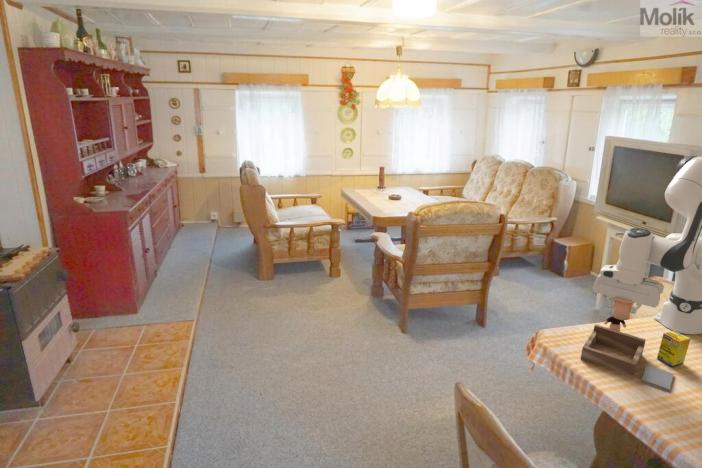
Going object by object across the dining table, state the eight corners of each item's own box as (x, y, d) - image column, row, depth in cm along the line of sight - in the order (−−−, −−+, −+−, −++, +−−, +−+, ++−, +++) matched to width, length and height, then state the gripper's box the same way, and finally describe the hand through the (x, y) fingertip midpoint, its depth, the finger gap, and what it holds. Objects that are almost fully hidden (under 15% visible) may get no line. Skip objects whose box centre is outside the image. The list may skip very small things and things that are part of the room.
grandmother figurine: (619, 334, 183) (626, 306, 179) (624, 339, 179) (630, 311, 175) (600, 333, 184) (605, 305, 180) (604, 338, 180) (609, 310, 176)
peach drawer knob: (612, 310, 167) (616, 291, 164) (632, 316, 163) (636, 296, 160) (608, 317, 162) (612, 297, 160) (628, 322, 158) (632, 302, 156)
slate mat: (646, 367, 162) (647, 364, 162) (673, 375, 158) (673, 373, 157) (640, 381, 155) (641, 379, 154) (668, 391, 150) (669, 389, 149)
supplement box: (656, 358, 167) (662, 332, 164) (667, 355, 169) (674, 329, 166) (672, 367, 162) (679, 341, 159) (683, 364, 164) (691, 338, 161)
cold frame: (592, 339, 179) (595, 324, 177) (641, 355, 169) (645, 339, 167) (580, 359, 167) (583, 342, 165) (633, 377, 157) (637, 360, 154)
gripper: (666, 279, 153) (657, 315, 158) (599, 264, 166) (593, 298, 170) (663, 285, 149) (654, 322, 153) (595, 269, 161) (589, 304, 166)
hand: (621, 309), depth 162 cm, fingers closed on peach drawer knob, 6 cm apart
